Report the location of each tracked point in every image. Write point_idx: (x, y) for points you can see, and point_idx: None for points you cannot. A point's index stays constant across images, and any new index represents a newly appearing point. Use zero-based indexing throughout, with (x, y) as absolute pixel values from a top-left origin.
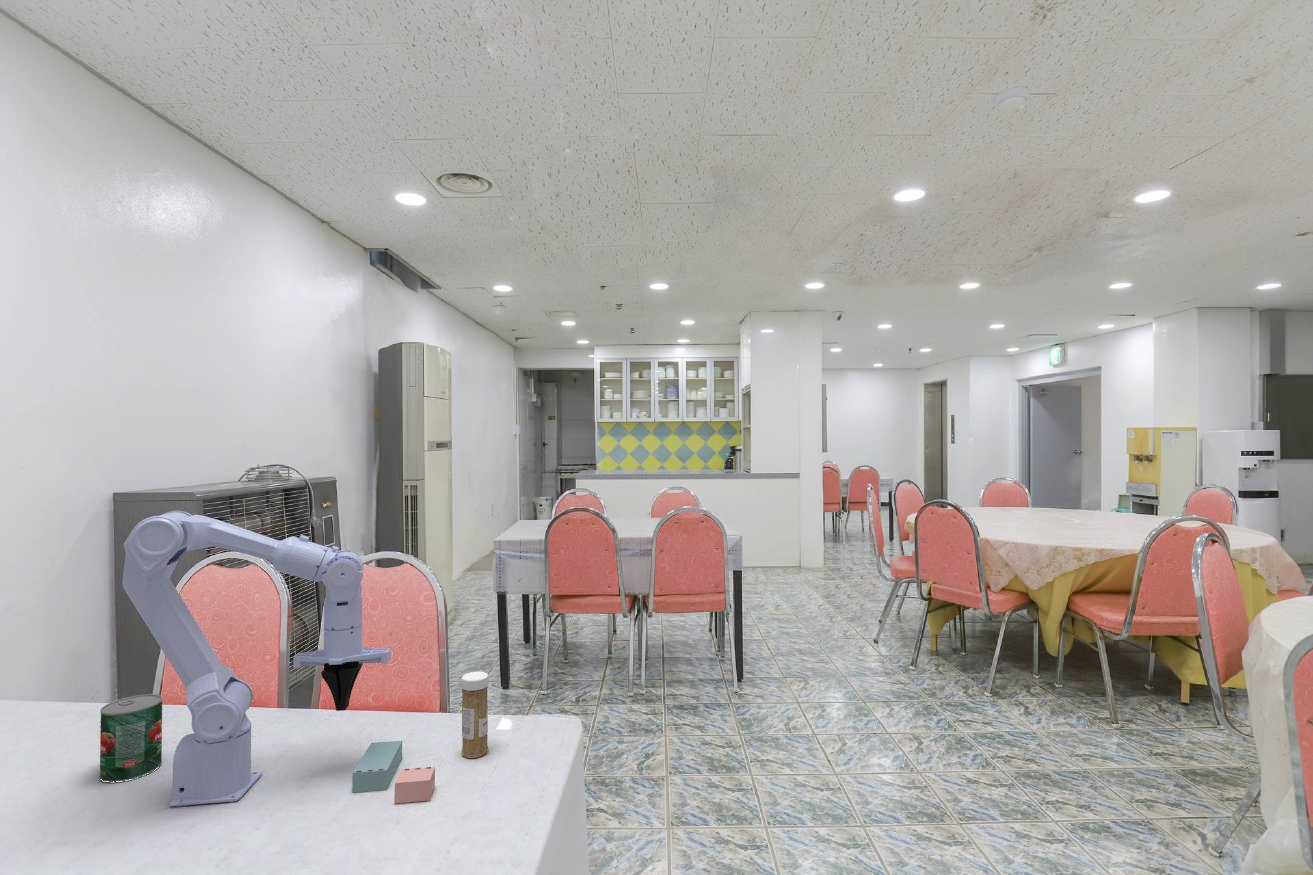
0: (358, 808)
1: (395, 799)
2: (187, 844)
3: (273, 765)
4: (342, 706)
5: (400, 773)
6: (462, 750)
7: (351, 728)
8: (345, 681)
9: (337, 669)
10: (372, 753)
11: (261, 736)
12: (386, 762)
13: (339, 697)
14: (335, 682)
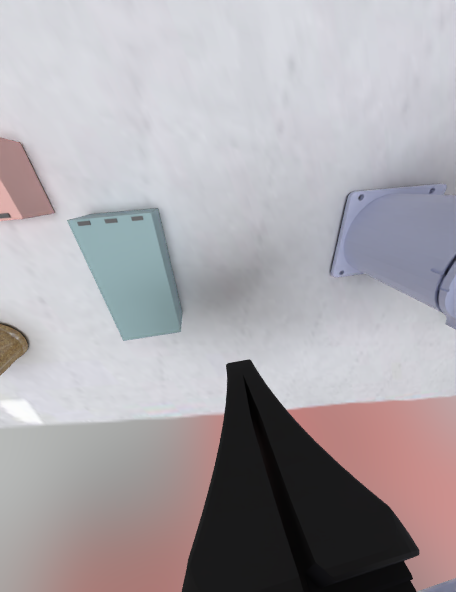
0: (104, 133)
1: (12, 142)
2: (412, 9)
3: (320, 299)
4: (234, 371)
5: (5, 194)
6: (13, 337)
7: None
8: (237, 486)
9: (319, 583)
10: (154, 296)
11: (348, 359)
12: (96, 259)
13: (251, 398)
14: (289, 469)
